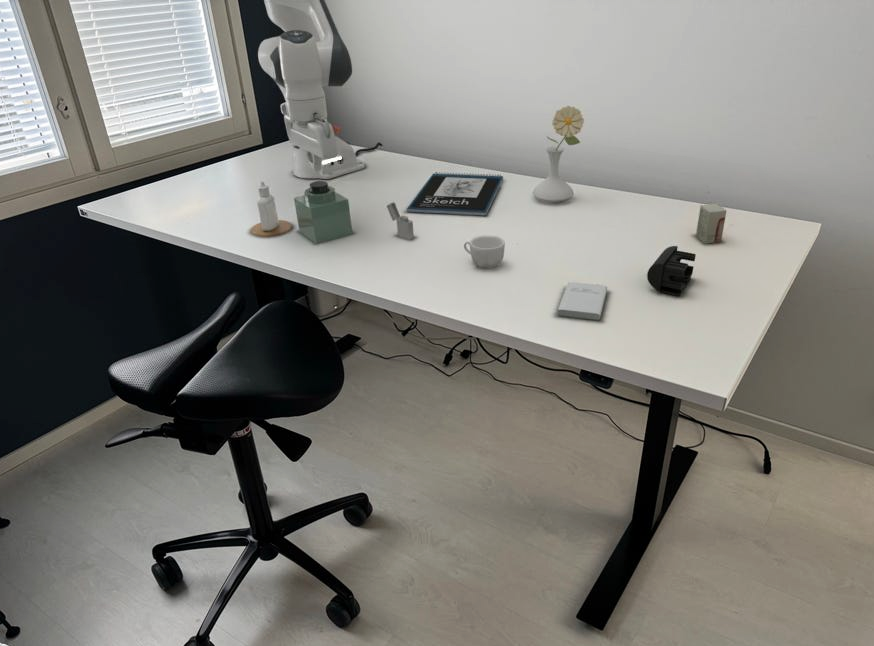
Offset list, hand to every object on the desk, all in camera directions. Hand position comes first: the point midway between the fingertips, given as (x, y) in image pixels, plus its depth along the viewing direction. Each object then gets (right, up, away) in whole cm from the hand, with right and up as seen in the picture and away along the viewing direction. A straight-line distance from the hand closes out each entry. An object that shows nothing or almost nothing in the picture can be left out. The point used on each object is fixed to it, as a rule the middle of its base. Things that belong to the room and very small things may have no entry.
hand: (315, 169), depth 163 cm
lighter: (+20, -15, +6) cm, 26 cm away
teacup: (+40, -24, -9) cm, 48 cm away
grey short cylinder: (0, -5, +3) cm, 6 cm away
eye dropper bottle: (-14, -12, +11) cm, 22 cm away
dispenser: (+1, -14, +9) cm, 16 cm away
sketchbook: (+34, +1, +30) cm, 45 cm away
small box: (+94, -17, -1) cm, 96 cm away
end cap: (+79, -30, -20) cm, 87 cm away
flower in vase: (+61, -1, +25) cm, 66 cm away
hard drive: (+60, -35, -26) cm, 74 cm away
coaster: (-14, -12, +12) cm, 22 cm away
